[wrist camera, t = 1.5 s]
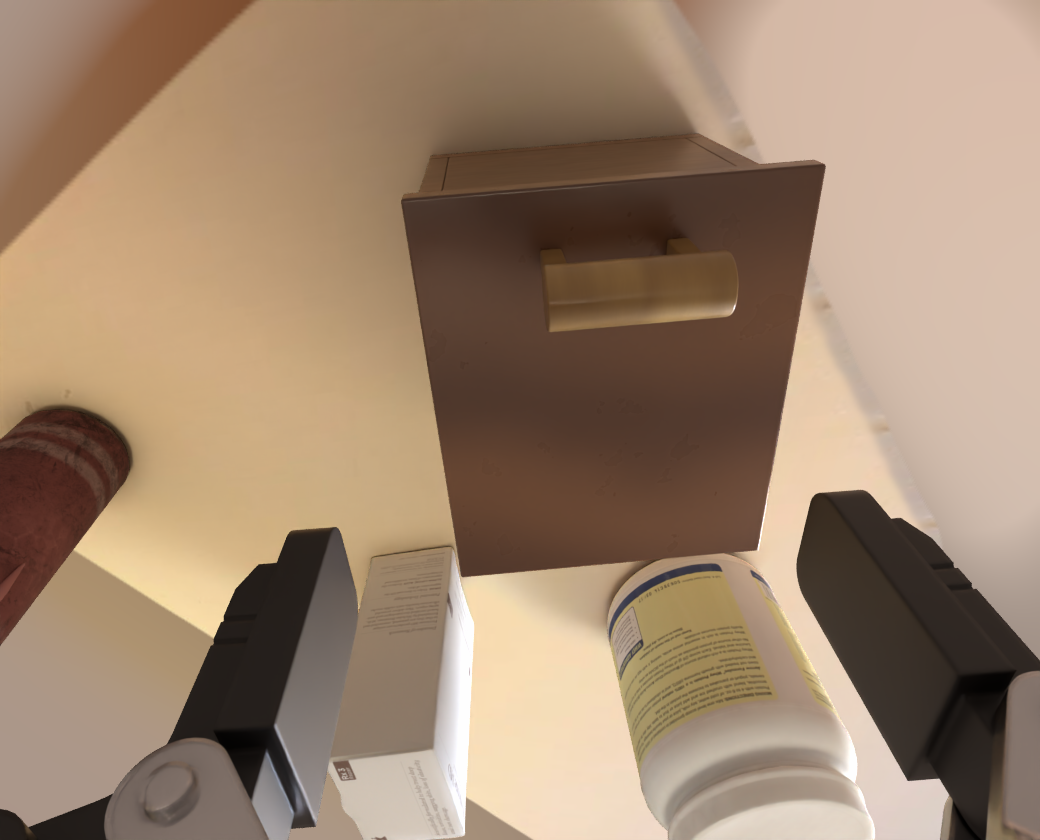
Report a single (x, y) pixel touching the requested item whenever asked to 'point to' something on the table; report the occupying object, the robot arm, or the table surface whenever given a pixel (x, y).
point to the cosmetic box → (407, 702)
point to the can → (50, 498)
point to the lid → (611, 358)
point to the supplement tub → (729, 709)
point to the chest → (577, 162)
